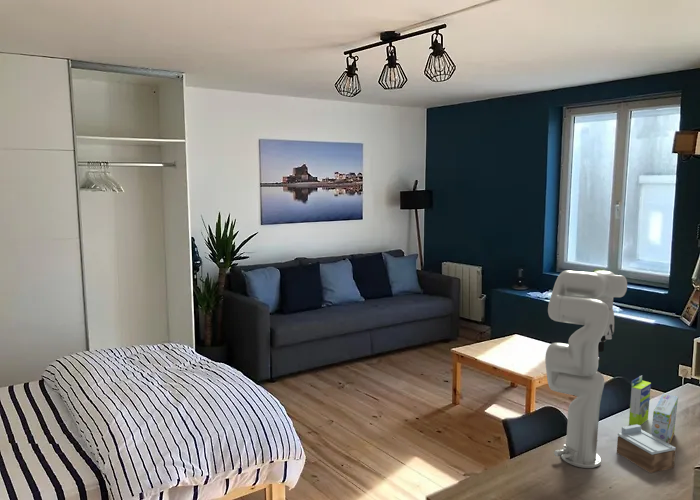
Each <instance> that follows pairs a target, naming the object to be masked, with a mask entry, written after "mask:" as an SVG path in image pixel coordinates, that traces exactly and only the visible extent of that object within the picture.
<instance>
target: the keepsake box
mask: <svg viewBox="0 0 700 500" xmlns="http://www.w3.org/2000/svg"><path fill="white" fill-rule="evenodd" d="M616 445H617V446H616V454H618V455H619V456H621V457H623V458H625V459H626V460H628V461H630V462H631V463H633V464H635V465H637V467H639V468H641V469H643V470H645V471H646V472H648V473H650V474H652V473H657V472H663V471H665V470H670V469H674V468H675V460H676V449H675V450H672V451H668V452H663V453H658V454H653V455H652V454H650V453H648V452H646V451H644V450H643V449H641V448H639V447H637V446H636V445H634V444H632V443H630V442H629V441H627V440H625V439H623V438H621V437H620V436H618V435H617V443H616Z"/></svg>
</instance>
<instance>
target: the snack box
mask: <svg viewBox="0 0 700 500" xmlns="http://www.w3.org/2000/svg"><path fill="white" fill-rule="evenodd" d="M678 402H679V396H677V395H672V394H669V393H668V394H667V393H662V395H661V397H660V398H659V401H658V403H657V404H656V406H655V408H654V410H653V413H652V415H653V416H652V425H651V433H650V434H651V435H653V436H655V437H657V438H658V439H660V440H662V441H664V442H666V443H668V444H670V445H671V443H672V441H673V438H674V435H675V428H676V417H677V412H678V411H677V410H678Z"/></svg>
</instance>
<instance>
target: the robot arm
mask: <svg viewBox="0 0 700 500" xmlns="http://www.w3.org/2000/svg"><path fill="white" fill-rule="evenodd" d="M627 290H628V280H627V278H626V276H625V275H621V274H619V275H618V274H615V273H614V272H613V271H608V270H595V271H594V272H593V271H592V272H591V271H579V270H568V269H567V270H563V271H561V272H560V273H559V275H558V276H557V278H556V280H555V282H554V285H553V288H552V292H551V294H550V298H549V302H548V307H547V313H548V317H549V318H550V319H551V321H552V320H553V321H554V322H559V323H566V324H573V325H581V326H582V327H580V328H579V329H577V330H575V331H574V332H573V333H572V334H571V335H570V336H569V338H568V342H567V343H563V342H552V343H550V344H549V345H548V347H547V349H546V352H545V356H544V358H545V359H544V360H545V370H546V379H547V384H548V387H549V389H550V390H551V391H553V392H557V393H560V394H561V393H562V394H566V395H570V396H575V397H576V398H575V399H573V400H572V401H571V402H570V404H569V405H568V409H567V424H566V441H565V442H566V443H565V444H563V446H562V448H561V449H556V450H554V451H553V454H554V456H555V457H560V458H561V459H562V460H563V461H564V462H566V463H568V464H569V465H571V466H574V467H579V468H583V469H592V468H593V469H594V468H596V467H599V466H600V465H601V464H602V458H601V456H600V455H599V454H598V453H597V451H598V435H599V434H598V431H599V423H600V422H599V421H600V407H601V401H602V396H603V391H604V387H605V377H604V375H603V374H602V372H599V371H598V368H599V353H603V352H604V350H605V342H606V341H607V340H612V339H613V336H612V335H614V333H615V312H614V311H615V310H614V309H613V308H614V307H613V306H614V298H622V297H624V296H625V295H626V293H627Z"/></svg>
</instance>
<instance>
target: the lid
mask: <svg viewBox="0 0 700 500" xmlns="http://www.w3.org/2000/svg"><path fill="white" fill-rule="evenodd" d="M618 436H620V437H621V438H623V439H625V440H627V441H629V442H630V443H632V444H634V445H636V446H637V447H639V448H641V449H643V450H644V451H646V452H648V453H650V454H652V455H653V454H658V453H663V452H668V451H672V450H675V451H676V446H674V445H672V444H671V443H670V444H668V443H666V442H664V441H662V440H660V439H658V438H657V437H655V436H653V435H651V433H649V432H647V431H645V430H643V429H642V425H638V424H636V425H625V426H622V427H621V431H620V432H618V433H617V437H618Z"/></svg>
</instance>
